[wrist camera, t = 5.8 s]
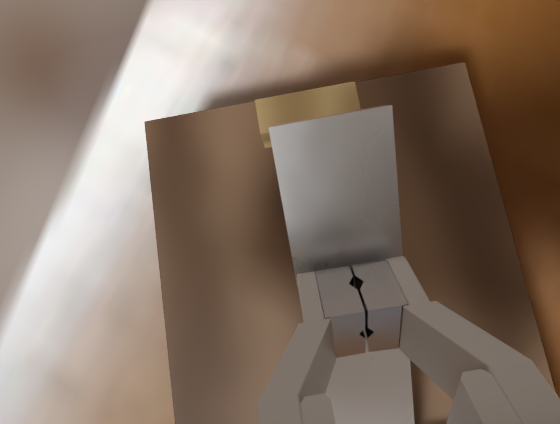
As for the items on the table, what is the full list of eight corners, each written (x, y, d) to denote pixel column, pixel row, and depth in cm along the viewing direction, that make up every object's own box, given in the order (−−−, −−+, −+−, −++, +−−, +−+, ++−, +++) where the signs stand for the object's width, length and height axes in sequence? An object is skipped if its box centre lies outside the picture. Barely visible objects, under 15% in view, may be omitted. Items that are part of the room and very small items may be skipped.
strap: (381, 105, 9) (392, 105, 8) (411, 471, 13) (420, 496, 13) (269, 126, 9) (268, 127, 8) (333, 481, 14) (337, 506, 13)
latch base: (432, 101, 20) (485, 36, 14) (524, 465, 17) (640, 572, 11) (175, 148, 20) (125, 104, 15) (216, 505, 17) (173, 625, 12)
